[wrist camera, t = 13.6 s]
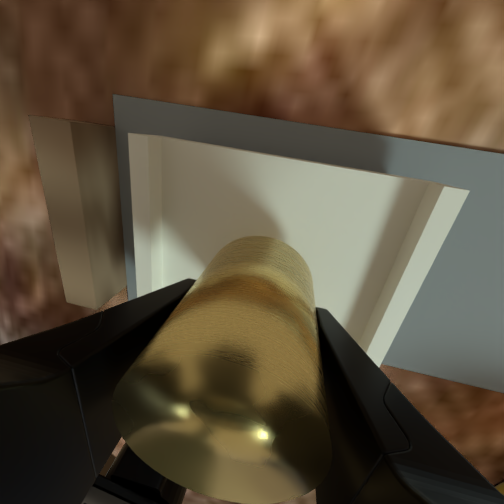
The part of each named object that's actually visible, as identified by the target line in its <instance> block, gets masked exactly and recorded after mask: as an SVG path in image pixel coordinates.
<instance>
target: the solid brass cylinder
mask: <svg viewBox="0 0 504 504" xmlns="http://www.w3.org/2000/svg"><path fill="white" fill-rule="evenodd" d="M112 412H113V417H114V421H115V423H116V426H117V428H118V430H119V432H120V434H121V436H122V437H123V439H124V440H125V442H126V443H127V444H128V446H129V447H130V448H131V449H132V450H133V451H134V453H135V454H136V455H137V456H138V457H139V458H141V459H142V460H143V461H144V462H145V463H146V464H147V465H149V466H150V467H151V468H153V469H154V470H155V471H157V472H158V473H160V474H161V475H163V476H164V477H166V478H168V479H170V480H171V481H173V482H175V483H177V484H179V485H181V486H183V487H185V488H187V489H190V490H192V491H195V492H197V493H200V494H203V495H206V496H209V497H213V498H216V499H220V500H225V501H230V502H237V503H245V504H271V503H280V502H285V501H289V500H292V499H295V498H299V497H301V496H303V495H305V494H307V493H309V492H310V491H312V490H313V489H315V488H316V487H317V486H318V485H319V484H320V483H321V482H322V481H323V480H324V478H325V477H326V475H327V474H328V472H329V469H330V466H331V462H332V446H331V437H330V429H329V420H328V411H327V402H326V394H325V385H324V376H323V367H322V359H321V350H320V341H319V333H318V324H317V315H316V306H315V298H314V289H313V280H312V275H311V272H310V269H309V267H308V265H307V263H306V262H305V260H304V259H303V258H302V256H301V255H300V254H299V253H298V252H297V251H296V250H295V249H293V248H292V247H291V246H289V245H288V244H286V243H284V242H282V241H280V240H277V239H274V238H271V237H265V236H247V237H242V238H239V239H236V240H234V241H232V242H230V243H228V244H227V245H225V246H224V247H223V248H222V249H221V250H220V251H219V252H218V253H217V254H216V255H215V257H214V258H213V259H212V261H211V262H210V263H209V265H208V266H207V267H206V269H205V270H204V271H203V272H202V274H201V275H200V276H199V278H198V279H197V280H196V282H195V283H194V284H193V286H192V287H191V288H190V289H189V291H188V292H187V293H186V295H185V296H184V297H183V299H182V300H181V301H180V303H179V304H178V305H177V307H176V308H175V309H174V310H173V312H172V313H171V314H170V316H169V317H168V318H167V320H166V321H165V322H164V324H163V325H162V326H161V327H160V329H159V330H158V331H157V333H156V334H155V335H154V337H153V338H152V339H151V341H150V342H149V343H148V344H147V346H146V347H145V348H144V350H143V351H142V352H141V354H140V355H139V356H138V358H137V359H136V360H135V361H134V363H133V364H132V365H131V367H130V368H129V369H128V371H127V372H126V373H125V375H124V376H123V377H122V379H121V380H120V381H119V383H118V384H117V386H116V388H115V391H114V393H113V399H112Z"/></svg>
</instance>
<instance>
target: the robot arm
mask: <svg viewBox="0 0 504 504" xmlns="http://www.w3.org/2000/svg"><path fill="white" fill-rule="evenodd" d="M195 282H196V280H195V279H191V278H187V279H184V280H182V281H179V282H177V283H174V284H171V285H169V286H166V287H164V288H161V289H158V290H156V291H153V292H151V293H148V294H145V295H143V296H140V297H138V298H135V299H132V300H130V301H127V302H124V303H122V304H119V305H117V306H114V307H111V308H109V309H106V310H104V312H103V311H101V312H98V313H96V314H93V315H90V316H88V317H85V318H82V319H79V320H77V321H74V322H71V323H68V324H65V325H62V326H59V327H56V328H53V329H50V330H47V331H43V332H40V333H37V334H34V335H31V336H28V337H24V338H21V339H18V340H15V341H12V342H8V343H5V344H2V345H0V504H182V502H183V498H184V495H185V492H186V489H187V488H185V487H183V486H181V485H179V484H177V483H175V482H173V481H171V480H170V479H168V478H166V477H164V476H163V475H161V474H160V473H158V472H157V471H155V470H154V469H153V468H151V467H150V466H149V465H147V464H146V463H145V462H144V461H143V460H142V459H141V458H139V457H138V456H137V455H136V454H135V453H134V451H133V450H132V449H131V448H130V447H129V446H128V444H127V443H126V442H125V444H124V445H123V447H122V449H121V451H120V452H119V454H118V456H117V457H116V459H115V461H114V463H113V464H112V466H111V468H110V469H109V471H108V473H107V474H106V476H105V477H104V476H102V475H100V474H99V473H100V472H101V470H102V468H103V467H104V465H105V463H106V462H107V460H108V458H109V457H110V455H111V453H112V452H113V450H114V449H115V447H116V445H117V444H118V442H119V440H120V439H121V437H122V436H121V434H120V432H119V430H118V428H117V426H116V423H115V421H114V417H113V412H112V399H113V393H114V391H115V388H116V386H117V384H118V383H119V381H120V380H121V379H122V377H123V376H124V375H125V373H126V372H127V371H128V369H129V368H130V367H131V365H132V364H133V363H134V361H135V360H136V359H137V358H138V356H139V355H140V354H141V352H142V351H143V350H144V348H145V347H146V346H147V344H148V343H149V342H150V341H151V339H152V338H153V337H154V335H155V334H156V333H157V331H158V330H159V329H160V327H161V326H162V325H163V324H164V322H165V321H166V320H167V318H168V317H169V316H170V314H171V313H172V312H173V310H174V309H175V308H176V307H177V305H178V304H179V303H180V301H181V300H182V299H183V297H184V296H185V295H186V293H187V292H188V291H189V289H190V288H191V287H192V286H193V284H194V283H195ZM316 315H317V324H318V333H319V341H320V350H321V359H322V367H323V376H324V385H325V394H326V402H327V411H328V420H329V429H330V437H331V446H332V462H331V466H330V469H329V472H328V474H327V475H326V477H325V478H324V480H323V481H322V482H321V483H320V484H319V485H318V486H317V487H316V502H317V504H504V495H503V494H501V493H500V492H499V491H498V490H497V489H496V488H495V487H494V486H493V485H492V484H491V483H490V482H489V481H488V480H487V479H486V478H485V477H484V476H483V475H482V474H481V473H480V472H479V471H478V470H476V469H475V468H474V467H473V466H472V465H471V464H470V463H469V462H468V461H467V460H466V459H465V458H464V457H463V456H462V455H461V454H460V453H459V452H458V451H457V450H456V449H455V448H454V447H453V446H452V445H451V444H450V443H449V442H448V441H447V440H446V439H445V438H444V437H443V436H442V435H441V434H440V433H439V432H438V431H437V430H436V429H435V428H434V427H433V426H432V425H431V424H430V423H429V422H428V421H427V420H426V419H425V418H424V417H423V416H422V415H421V414H420V413H419V412H418V411H417V409H416V408H415V407H414V406H413V405H412V404H411V403H410V402H409V401H408V400H407V399H406V398H405V396H404V395H403V394H402V393H401V392H400V391H399V390H398V389H397V388H396V386H395V385H394V384H393V383H390V380H389V379H388V377H387V376H386V375H385V374H384V373H383V372H382V371H381V370H380V368H379V367H378V366H377V365H376V364H375V363H374V362H373V361H372V359H371V358H370V357H369V356H368V355H367V354H366V353H365V352H364V350H363V349H362V348H361V347H360V346H359V345H358V344H357V343H356V341H355V340H354V339H353V338H352V337H351V336H350V335H349V334H348V332H347V331H346V330H345V329H344V328H343V327H342V326H341V324H340V323H339V322H338V321H337V320H336V319H335V318H334V317H333V315H332V314H331V313H330V312H329V311H328V310H327V309H324V308H320V307H316Z"/></svg>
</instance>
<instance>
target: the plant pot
mask: <svg viewBox="0 0 504 504" xmlns="http://www.w3.org/2000/svg"><path fill="white" fill-rule="evenodd" d="M495 488H496V489H497V490H498V491H499V492H500V493H501V494H503V495H504V482H502V483H500V484H498V485H497V486H495Z"/></svg>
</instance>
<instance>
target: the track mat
mask: <svg viewBox="0 0 504 504" xmlns="http://www.w3.org/2000/svg"><path fill="white" fill-rule="evenodd" d="M113 106H114V119H115V132H116V146H117V159H118V172H119V185H120V198H121V212H122V225H123V238H124V251H125V264H126V277H127V291H128V301H130V300H132V299H135V298H137V285H136V267H135V250H134V232H133V215H132V197H131V179H130V162H129V144H128V133H135V134H147V135H158V136H165V137H171V138H177V139H183V140H189V141H195V142H201V143H207V144H213V145H219V146H225V147H231V148H237V149H243V150H249V151H255V152H261V153H267V154H272V155H278V156H284V157H290V158H296V159H302V160H308V161H314V162H320V163H326V164H332V165H338V166H344V167H350V168H356V169H362V170H368V171H374V172H380V173H386V174H391V175H397V176H403V177H409V178H415V179H421V180H427V181H433V182H437V183H441V184H445V185H449V186H453V187H457V188H461V189H465V190H469V191H470V192H469V194H468V196H467V198H466V200H465V201H464V203H463V205H462V207H461V209H460V211H459V213H458V215H457V217H456V219H455V221H454V223H453V225H452V227H451V229H450V231H449V233H448V235H447V236H446V238H445V240H444V242H443V244H442V246H441V248H440V250H439V252H438V254H437V256H436V258H435V260H434V262H433V264H432V266H431V268H430V270H429V271H428V273H427V275H426V277H425V279H424V281H423V283H422V285H421V287H420V289H419V291H418V293H417V295H416V297H415V299H414V301H413V303H412V305H411V306H410V308H409V310H408V312H407V314H406V316H405V318H404V320H403V322H402V324H401V326H400V328H399V330H398V332H397V334H396V336H395V338H394V340H393V341H392V343H391V345H390V347H389V349H388V351H387V353H386V355H385V357H384V359H383V361H382V363H381V364H384V365H388V366H393V367H397V368H401V369H405V370H409V371H413V372H417V373H422V374H426V375H430V376H434V377H438V378H442V379H446V380H451V381H455V382H459V383H463V384H467V385H471V386H476V387H480V388H484V389H488V390H492V391H496V392H500V393H504V154H500V153H493V152H487V151H480V150H474V149H467V148H461V147H454V146H448V145H441V144H435V143H428V142H422V141H415V140H409V139H402V138H396V137H389V136H383V135H376V134H370V133H363V132H357V131H350V130H344V129H337V128H331V127H324V126H318V125H311V124H305V123H298V122H292V121H285V120H279V119H272V118H266V117H259V116H253V115H246V114H240V113H233V112H227V111H220V110H214V109H207V108H201V107H194V106H188V105H181V104H175V103H168V102H162V101H155V100H149V99H142V98H136V97H129V96H123V95H116V94H113Z"/></svg>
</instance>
